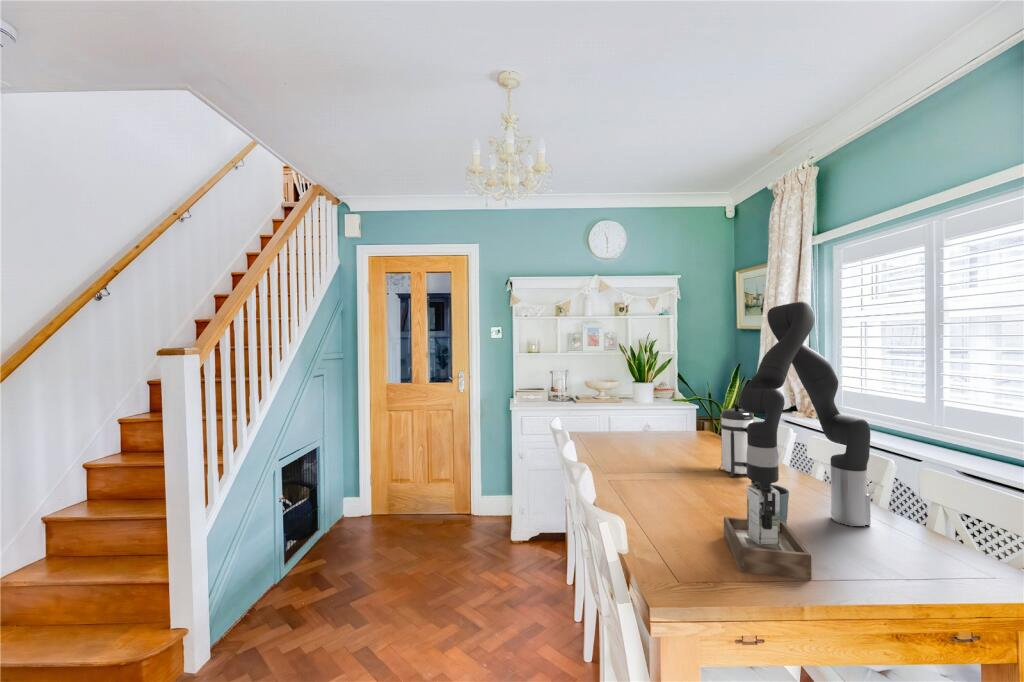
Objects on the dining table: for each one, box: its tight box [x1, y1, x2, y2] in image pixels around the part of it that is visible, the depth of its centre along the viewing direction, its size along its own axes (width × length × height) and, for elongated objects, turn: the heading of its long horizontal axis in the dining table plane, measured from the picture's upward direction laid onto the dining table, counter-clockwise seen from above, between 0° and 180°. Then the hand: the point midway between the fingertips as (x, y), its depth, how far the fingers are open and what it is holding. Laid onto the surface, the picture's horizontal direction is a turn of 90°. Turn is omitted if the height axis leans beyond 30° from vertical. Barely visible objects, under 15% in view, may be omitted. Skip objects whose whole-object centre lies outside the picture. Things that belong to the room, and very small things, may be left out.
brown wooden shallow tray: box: [723, 516, 813, 580], centre depth 121 cm, size 16×20×6 cm
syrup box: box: [746, 484, 780, 545], centre depth 121 cm, size 6×6×14 cm
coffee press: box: [718, 402, 755, 479], centre depth 190 cm, size 17×16×30 cm
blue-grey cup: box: [770, 483, 790, 525], centre depth 139 cm, size 10×10×12 cm
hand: (763, 523), depth 121 cm, fingers closed on syrup box, 6 cm apart
